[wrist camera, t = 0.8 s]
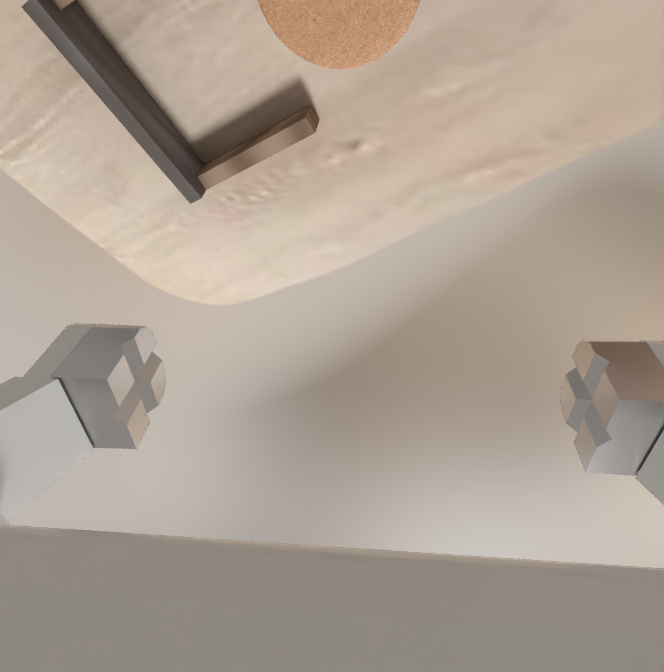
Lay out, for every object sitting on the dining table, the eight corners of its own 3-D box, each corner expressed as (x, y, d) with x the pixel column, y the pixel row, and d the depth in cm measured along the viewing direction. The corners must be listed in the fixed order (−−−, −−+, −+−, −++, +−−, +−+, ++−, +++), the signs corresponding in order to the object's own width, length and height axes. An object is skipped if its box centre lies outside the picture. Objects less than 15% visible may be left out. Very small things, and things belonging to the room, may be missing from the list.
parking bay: (174, -130, 33) (152, -123, 30) (319, 120, 44) (312, 140, 42) (49, -8, 40) (21, 6, 37) (203, 182, 51) (190, 203, 48)
